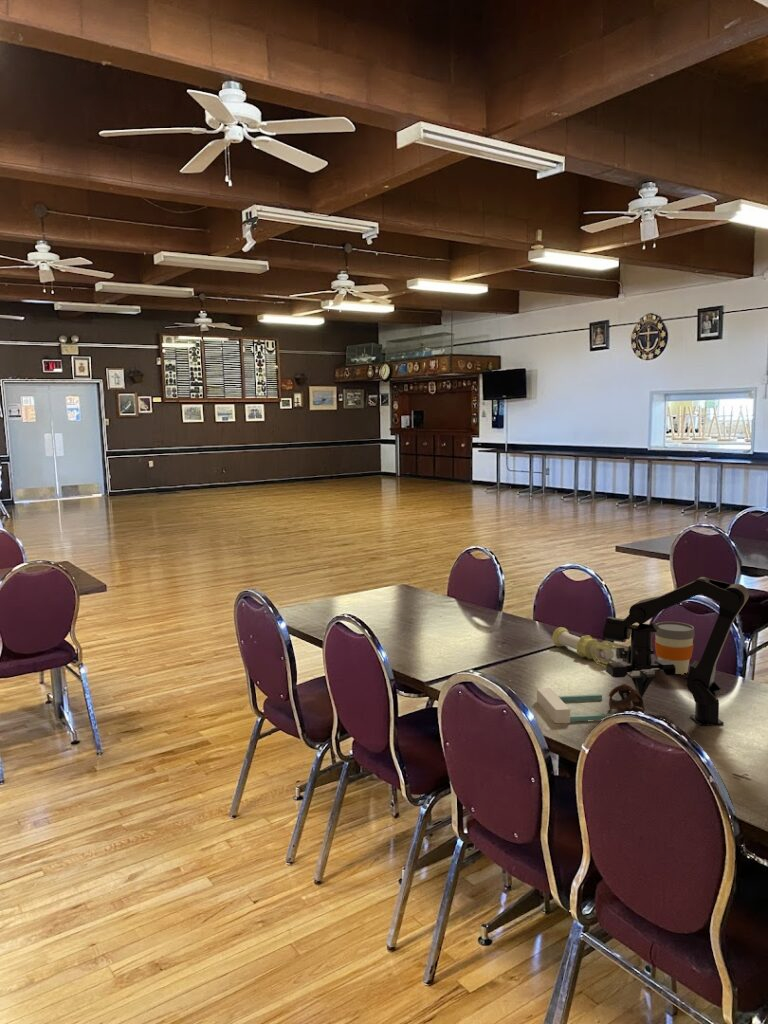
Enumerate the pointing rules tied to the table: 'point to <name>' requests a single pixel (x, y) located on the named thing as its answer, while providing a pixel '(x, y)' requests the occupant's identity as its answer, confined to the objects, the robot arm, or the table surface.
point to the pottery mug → (625, 698)
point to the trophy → (585, 646)
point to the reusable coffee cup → (675, 644)
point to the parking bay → (565, 706)
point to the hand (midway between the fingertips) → (640, 697)
